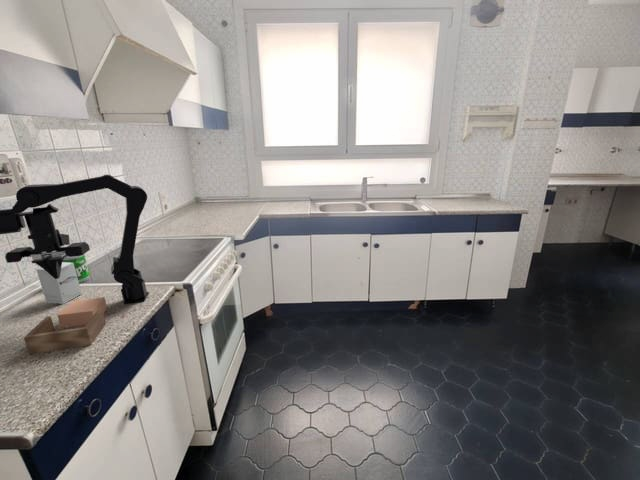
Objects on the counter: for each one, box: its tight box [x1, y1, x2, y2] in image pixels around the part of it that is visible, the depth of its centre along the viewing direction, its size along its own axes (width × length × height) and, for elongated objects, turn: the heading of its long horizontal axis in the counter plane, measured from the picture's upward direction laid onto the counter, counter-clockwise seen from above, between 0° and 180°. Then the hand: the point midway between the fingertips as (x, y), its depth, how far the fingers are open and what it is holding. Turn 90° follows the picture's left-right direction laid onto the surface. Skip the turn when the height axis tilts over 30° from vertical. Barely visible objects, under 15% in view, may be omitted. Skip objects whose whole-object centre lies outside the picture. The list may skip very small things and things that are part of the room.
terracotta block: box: [57, 296, 108, 329], centre depth 96 cm, size 9×9×4 cm
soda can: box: [63, 254, 91, 284], centre depth 121 cm, size 8×8×12 cm
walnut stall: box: [23, 309, 107, 355], centre depth 86 cm, size 14×10×5 cm
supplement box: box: [36, 262, 83, 305], centre depth 107 cm, size 7×7×13 cm
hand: (57, 278), depth 94 cm, fingers closed
